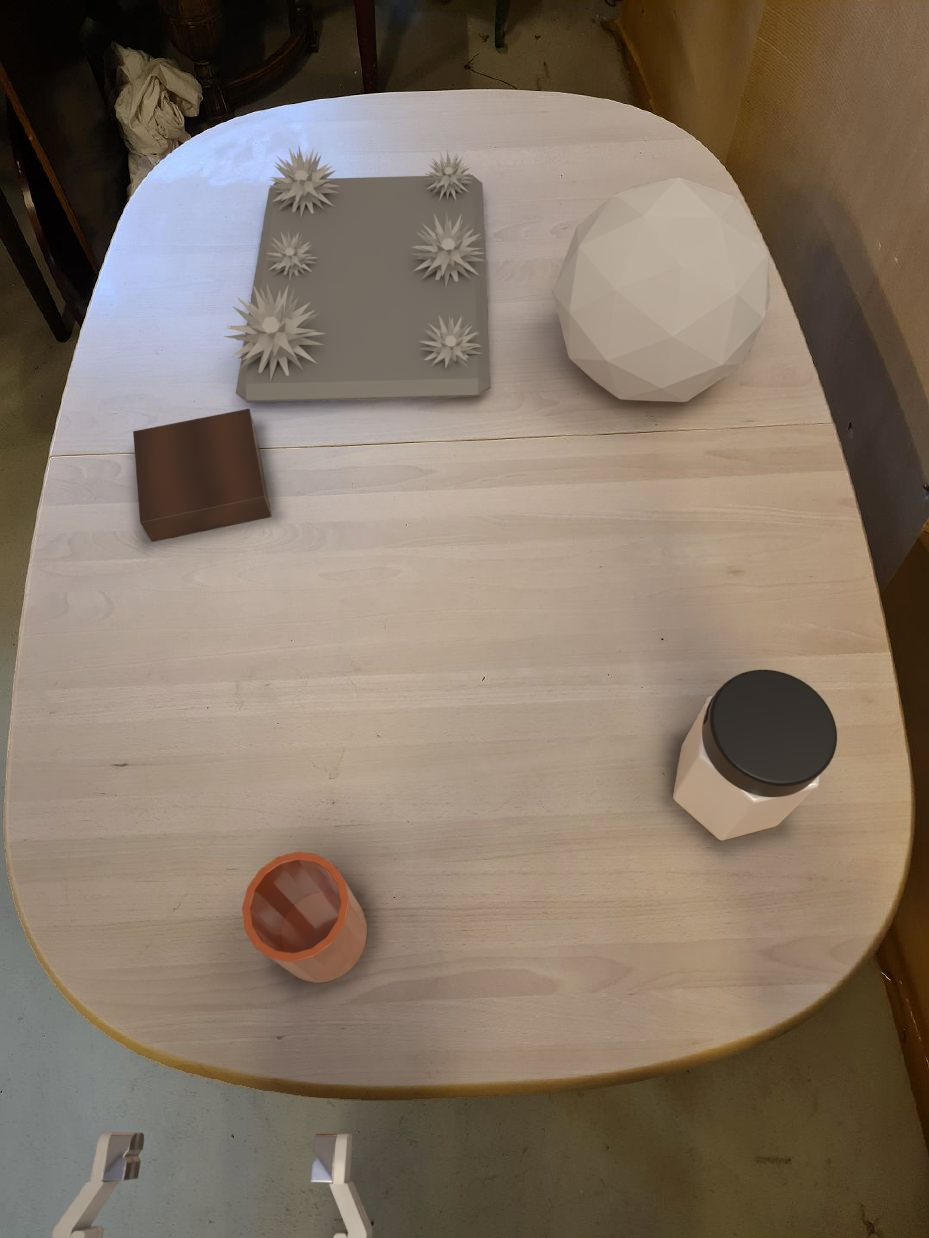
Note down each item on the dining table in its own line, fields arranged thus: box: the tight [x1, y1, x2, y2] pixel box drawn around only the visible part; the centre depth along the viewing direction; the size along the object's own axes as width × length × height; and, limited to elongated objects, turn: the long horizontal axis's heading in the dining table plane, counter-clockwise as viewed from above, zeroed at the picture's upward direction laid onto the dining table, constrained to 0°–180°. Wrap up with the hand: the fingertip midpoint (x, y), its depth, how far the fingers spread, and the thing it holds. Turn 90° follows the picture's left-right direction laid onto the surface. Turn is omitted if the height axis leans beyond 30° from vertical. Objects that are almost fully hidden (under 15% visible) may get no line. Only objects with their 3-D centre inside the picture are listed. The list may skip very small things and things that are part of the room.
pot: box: [241, 851, 368, 984], centre depth 56 cm, size 6×6×10 cm
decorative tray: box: [224, 146, 491, 403], centre depth 90 cm, size 35×26×10 cm
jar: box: [672, 669, 838, 842], centre depth 60 cm, size 9×8×12 cm
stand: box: [132, 408, 272, 543], centre depth 80 cm, size 11×11×3 cm
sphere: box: [551, 176, 771, 403], centre depth 79 cm, size 19×20×20 cm
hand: (228, 1132), depth 38 cm, fingers open, 8 cm apart
